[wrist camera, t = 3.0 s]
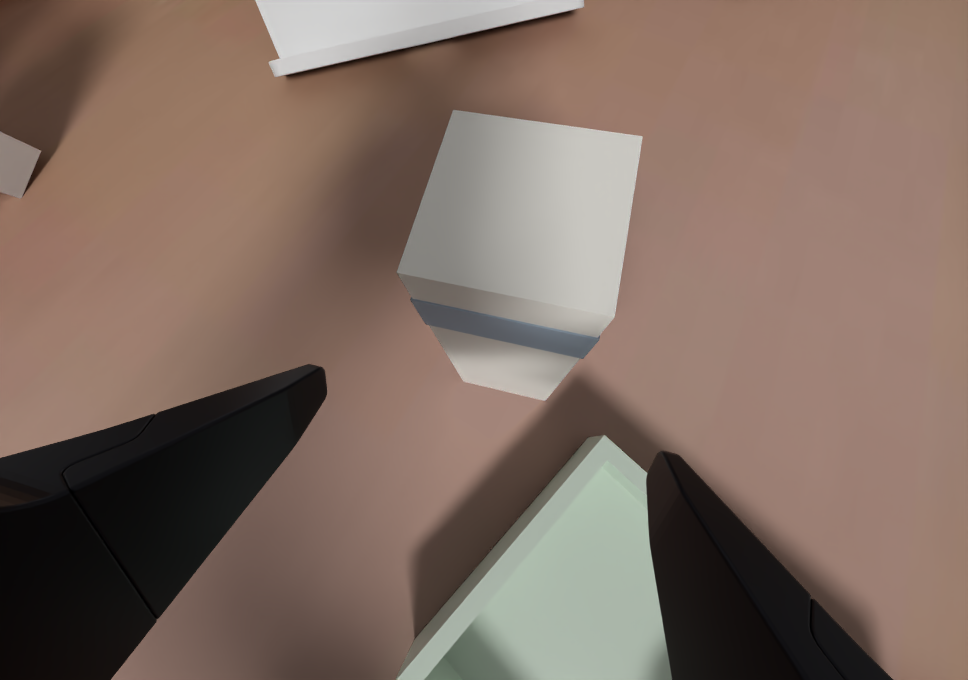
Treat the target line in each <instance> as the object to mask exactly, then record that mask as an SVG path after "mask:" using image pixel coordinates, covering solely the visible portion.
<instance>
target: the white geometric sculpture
mask: <svg viewBox="0 0 968 680" xmlns="http://www.w3.org/2000/svg"><path fill="white" fill-rule="evenodd" d="M40 153H41V150H39V149H36V148H34V147H32V146H30V145H28V144H26V143H24V142H21V141H19V140H17V139H15V138H13V137H11V136H8V135H6V134H4V133H2V132H0V192H1V193H5V194H8V195H11V196H14V197H17V198H20V199H21V198H22V196H23V194H24V191H25V189H26V186H27V184H28V182H29V179H30V177H31V174H32V172H33V170H34V167H35V165H36V162H37V160H38V158H39V155H40Z"/></svg>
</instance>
